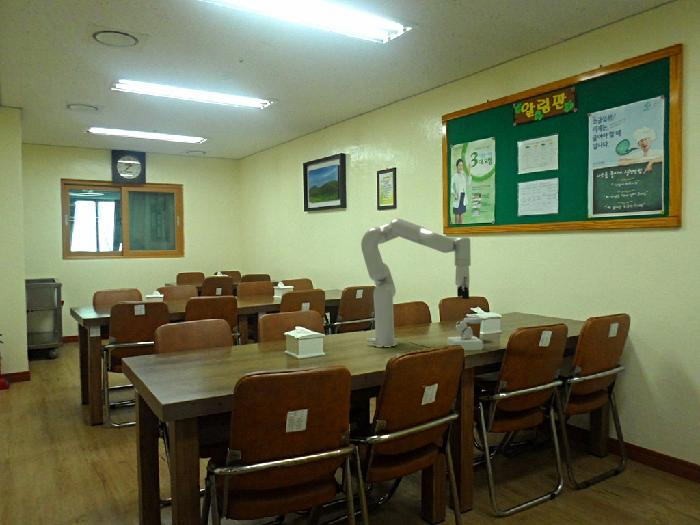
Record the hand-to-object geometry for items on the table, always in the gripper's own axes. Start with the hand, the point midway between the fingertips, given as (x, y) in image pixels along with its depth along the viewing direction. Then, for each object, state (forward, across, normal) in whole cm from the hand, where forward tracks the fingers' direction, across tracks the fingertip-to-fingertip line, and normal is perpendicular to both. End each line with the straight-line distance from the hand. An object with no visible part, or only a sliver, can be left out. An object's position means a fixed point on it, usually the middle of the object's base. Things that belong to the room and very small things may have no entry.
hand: (463, 297), depth 259 cm
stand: (+24, 0, 0) cm, 24 cm away
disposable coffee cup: (+24, -15, +8) cm, 30 cm away
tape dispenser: (+20, 0, 0) cm, 20 cm away
